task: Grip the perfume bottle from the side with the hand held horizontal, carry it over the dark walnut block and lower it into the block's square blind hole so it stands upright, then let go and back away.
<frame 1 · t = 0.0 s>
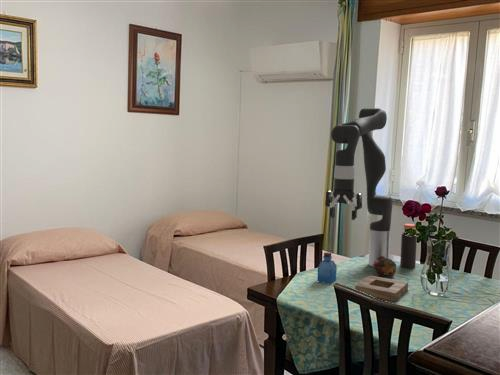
hand: (342, 218, 194), 29 cm above the table, tool pointing down, fingers open, 8 cm apart
perfume bottle: (326, 281, 210), on the table
decorative turtle: (384, 276, 218), on the table
vinegar: (407, 266, 233), on the table
walnut hole block: (381, 292, 196), on the table
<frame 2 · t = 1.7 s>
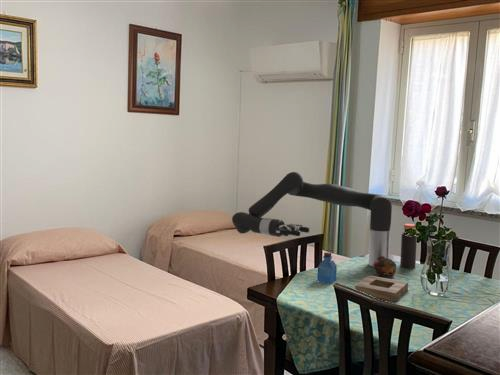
hand: (304, 231, 214), 20 cm above the table, tool horizontal, fingers open, 8 cm apart
nothing on the table moved.
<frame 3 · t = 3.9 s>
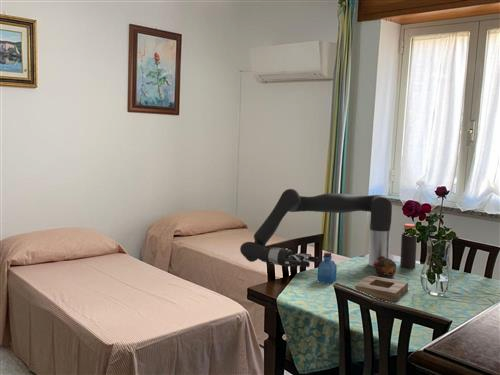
hand: (313, 262, 213), 7 cm above the table, tool horizontal, fingers open, 8 cm apart
nothing on the table moved.
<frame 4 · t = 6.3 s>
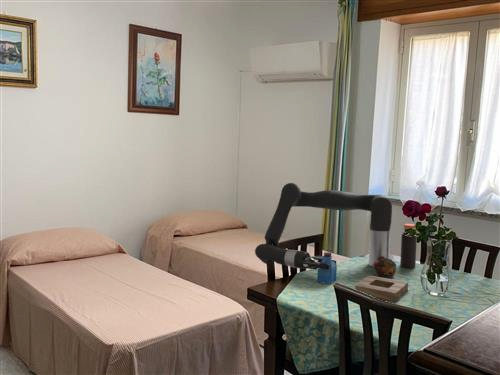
hand: (332, 265, 208), 7 cm above the table, tool horizontal, fingers closed on perfume bottle, 6 cm apart
perfume bottle: (326, 281, 210), on the table, touching gripper
everything else where it was.
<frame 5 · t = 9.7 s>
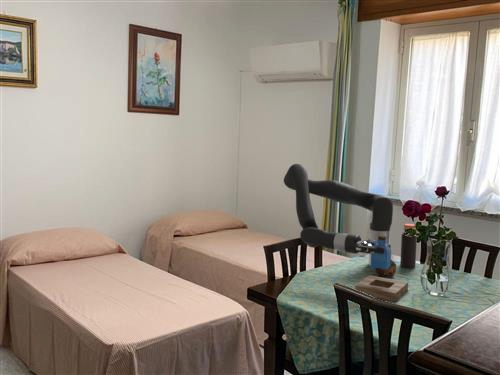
hand: (387, 249, 193), 18 cm above the table, tool horizontal, fingers closed on perfume bottle, 6 cm apart
perfume bottle: (380, 266, 195), point 10 cm above the table, touching gripper
everything else where it was.
when the fingers open (9 cm above the table, at t = 13.2 s): perfume bottle drops 1 cm, resting on walnut hole block.
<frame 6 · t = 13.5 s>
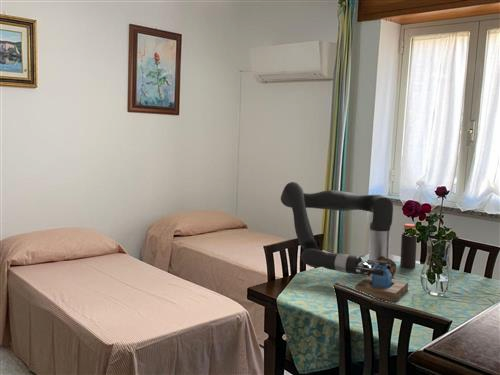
hand: (387, 270, 194), 9 cm above the table, tool horizontal, fingers open, 8 cm apart
perfume bottle: (381, 291, 196), resting on walnut hole block
everything else where it was.
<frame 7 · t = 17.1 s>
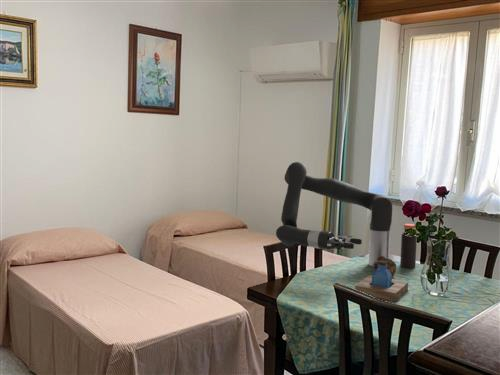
hand: (357, 243, 200), 18 cm above the table, tool horizontal, fingers open, 8 cm apart
nothing on the table moved.
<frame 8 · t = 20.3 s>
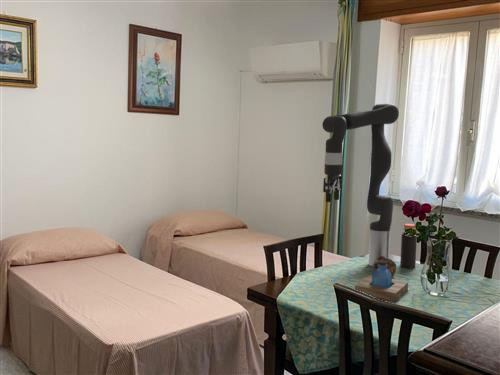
hand: (332, 200, 214), 33 cm above the table, tool pointing down, fingers open, 8 cm apart
nothing on the table moved.
at the end: perfume bottle 0.1 cm off-centre on the walnut hole block, point 0.3 cm above the walnut hole block's base; perfume bottle tilted 0°; the gripper is holding nothing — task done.
